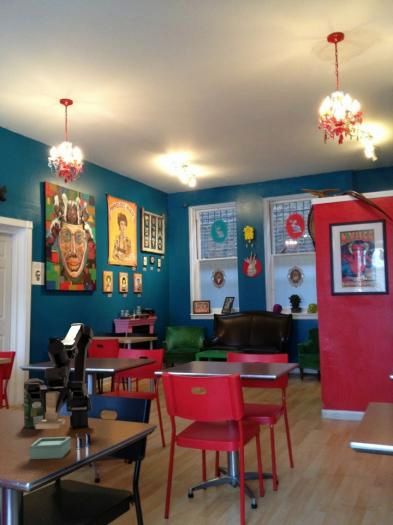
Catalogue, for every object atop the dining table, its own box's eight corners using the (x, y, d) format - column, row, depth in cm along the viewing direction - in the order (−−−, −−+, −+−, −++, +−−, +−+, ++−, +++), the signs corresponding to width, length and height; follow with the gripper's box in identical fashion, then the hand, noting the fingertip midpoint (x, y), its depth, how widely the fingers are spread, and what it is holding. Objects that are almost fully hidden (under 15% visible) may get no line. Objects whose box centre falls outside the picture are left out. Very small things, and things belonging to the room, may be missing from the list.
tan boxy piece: (43, 423, 159) (42, 391, 160) (64, 422, 158) (64, 391, 159) (35, 429, 151) (35, 395, 152) (58, 428, 151) (57, 395, 152)
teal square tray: (40, 449, 159) (40, 437, 160) (70, 448, 159) (70, 436, 159) (29, 459, 149) (29, 446, 150) (61, 457, 149) (61, 445, 150)
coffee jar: (22, 424, 197) (22, 378, 199) (42, 422, 201) (42, 376, 203) (25, 429, 189) (25, 381, 191) (46, 426, 192) (46, 379, 194)
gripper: (27, 359, 163) (15, 398, 151) (82, 357, 163) (74, 396, 151) (36, 379, 170) (24, 418, 158) (88, 377, 170) (81, 416, 158)
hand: (50, 412), depth 156 cm, fingers closed on tan boxy piece, 3 cm apart
